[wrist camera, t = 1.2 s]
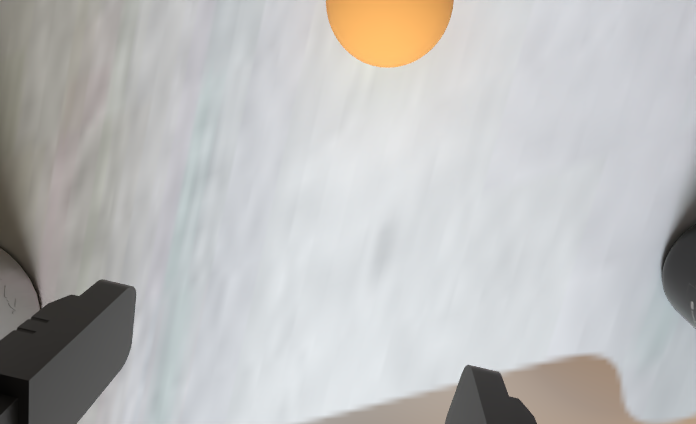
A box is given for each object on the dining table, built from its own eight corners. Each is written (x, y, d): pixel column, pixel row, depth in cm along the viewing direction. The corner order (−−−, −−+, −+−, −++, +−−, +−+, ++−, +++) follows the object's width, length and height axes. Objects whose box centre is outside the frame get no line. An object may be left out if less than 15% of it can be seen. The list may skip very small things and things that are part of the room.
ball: (369, 85, 25) (364, 96, 20) (311, -14, 24) (290, -30, 19) (466, 26, 24) (487, 21, 19) (411, -82, 23) (418, -119, 18)
